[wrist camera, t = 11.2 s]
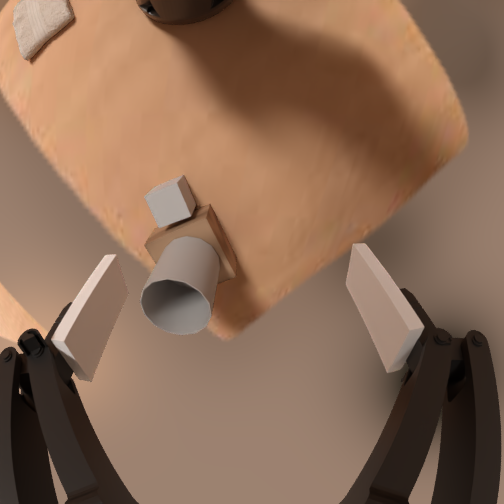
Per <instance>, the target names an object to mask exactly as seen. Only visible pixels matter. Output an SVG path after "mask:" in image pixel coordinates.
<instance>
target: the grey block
mask: <svg viewBox="0 0 504 504" xmlns="http://www.w3.org/2000/svg"><path fill="white" fill-rule="evenodd" d="M144 197H145V199H146V201H147V203H148V206H149V208H150V210H151V212H152V214H153V216H154V218H155V220H156V223H157V225H158V227H159V228H161V227H164V226H166V225H169V224H172V223H174V222H177V221H180V220H182V219H185V218H188V217H191V216H192V213H193V211H194V209H195V206H196V203H195V201H194V198H193V196H192V193H191V191H190V189H189V186H188V184H187V181H186V179H185V176H184V175H182V176H179V177H177V178H174V179H172V180H169V181H167V182H165V183H162V184H160V185H158V186H155V187H154V188H153V189H152V190H150V191H149V192H148V193H147V194H146V195H145V196H144Z"/></svg>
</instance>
